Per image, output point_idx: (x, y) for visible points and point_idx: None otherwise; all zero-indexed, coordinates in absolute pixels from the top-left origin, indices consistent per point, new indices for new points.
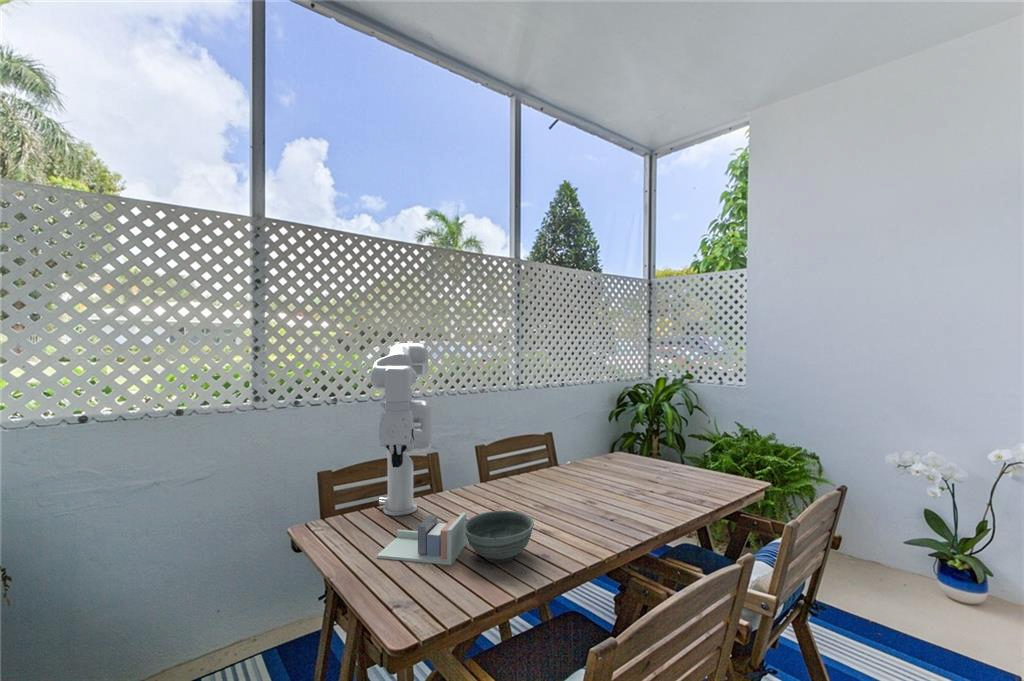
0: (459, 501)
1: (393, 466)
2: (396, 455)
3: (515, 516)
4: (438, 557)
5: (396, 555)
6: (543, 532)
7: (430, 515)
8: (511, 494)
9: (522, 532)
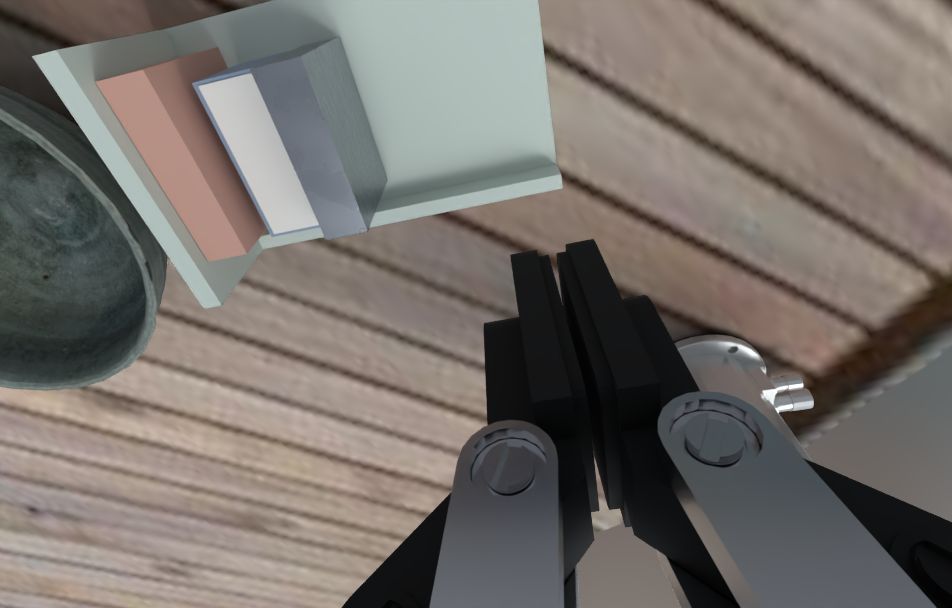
0: None
1: (577, 246)
2: (545, 384)
3: (34, 368)
4: (236, 54)
5: None
6: (115, 397)
7: (361, 230)
8: None
9: None
